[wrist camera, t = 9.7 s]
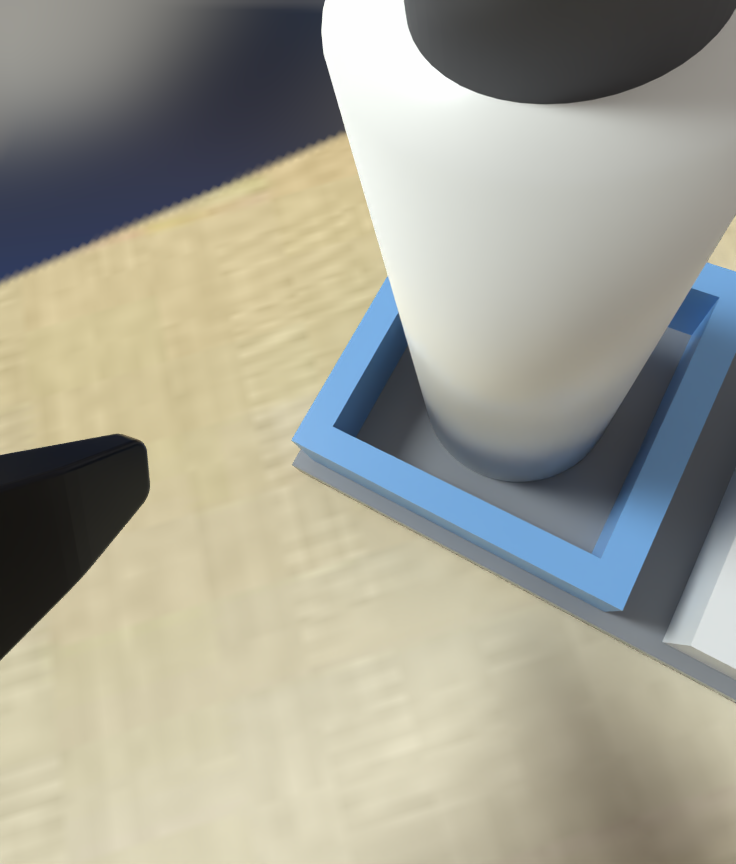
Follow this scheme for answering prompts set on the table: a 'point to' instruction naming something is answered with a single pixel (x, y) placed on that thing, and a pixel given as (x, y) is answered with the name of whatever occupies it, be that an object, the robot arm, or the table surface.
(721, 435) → the blue and white tray
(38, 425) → the table surface
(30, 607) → the robot arm
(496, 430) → the white bottle
